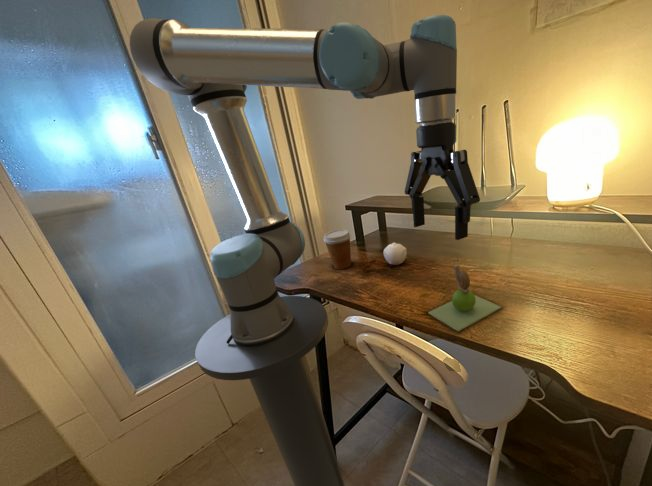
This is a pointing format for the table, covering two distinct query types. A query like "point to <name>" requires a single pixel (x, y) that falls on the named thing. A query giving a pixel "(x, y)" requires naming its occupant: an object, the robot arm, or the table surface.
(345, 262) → the disposable coffee cup
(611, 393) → the table surface
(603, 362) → the table surface
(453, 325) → the edge mat
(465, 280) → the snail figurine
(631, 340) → the table surface
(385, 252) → the garlic bulb
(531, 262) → the table surface
